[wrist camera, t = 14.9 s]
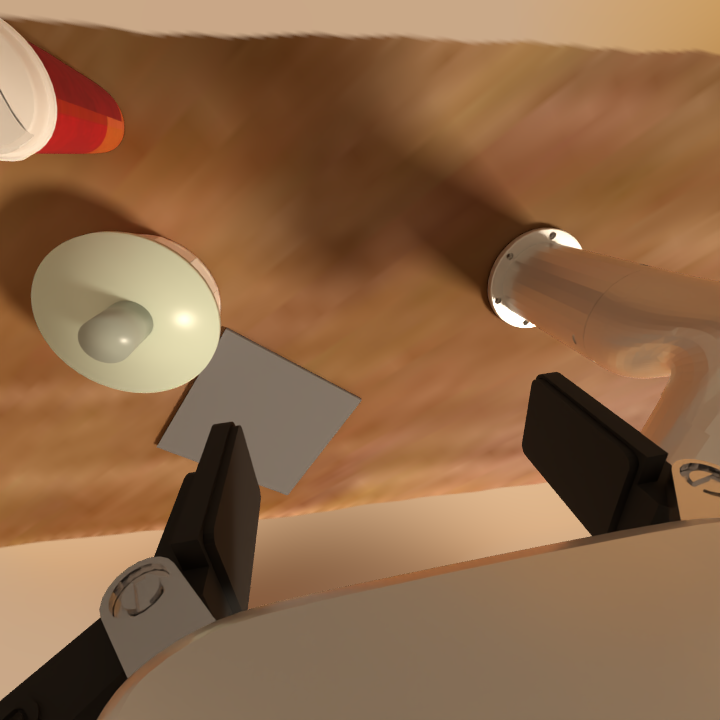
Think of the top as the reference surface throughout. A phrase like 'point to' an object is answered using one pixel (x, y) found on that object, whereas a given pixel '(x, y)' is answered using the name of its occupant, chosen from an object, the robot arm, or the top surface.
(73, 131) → the paper cup
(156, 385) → the lid
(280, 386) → the mat
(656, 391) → the top surface
